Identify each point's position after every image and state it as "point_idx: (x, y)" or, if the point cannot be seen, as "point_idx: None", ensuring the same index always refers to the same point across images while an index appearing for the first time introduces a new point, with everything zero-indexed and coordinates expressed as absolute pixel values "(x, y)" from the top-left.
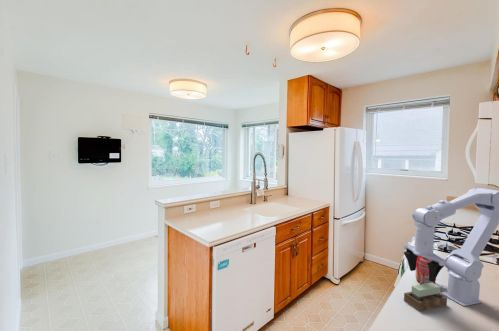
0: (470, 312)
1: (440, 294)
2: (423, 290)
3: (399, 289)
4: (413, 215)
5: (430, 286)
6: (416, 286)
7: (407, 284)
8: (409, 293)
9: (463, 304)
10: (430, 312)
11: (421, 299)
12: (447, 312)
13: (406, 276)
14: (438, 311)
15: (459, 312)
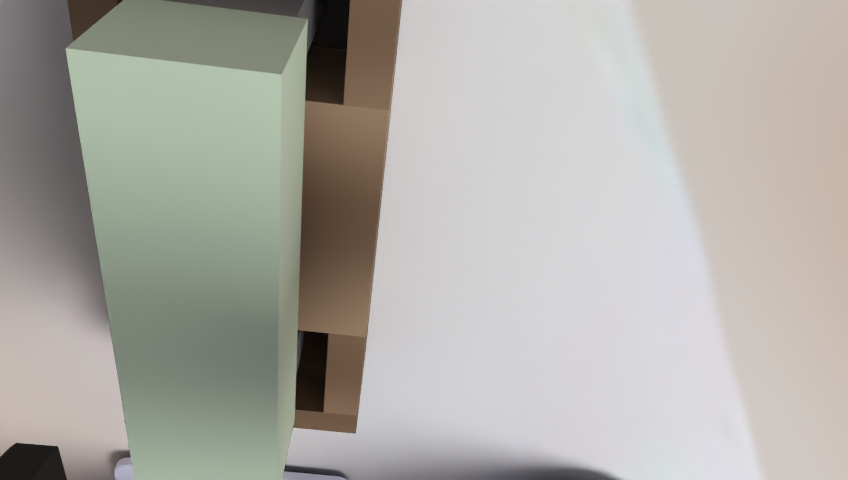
0: (30, 421)
1: None
2: (89, 157)
3: (645, 137)
4: None
5: (174, 386)
6: (228, 150)
7: (651, 344)
8: (362, 16)
9: (124, 473)
10: (68, 12)
11: None
12: (48, 224)
13: (754, 476)
14: (78, 143)
15: (38, 337)
